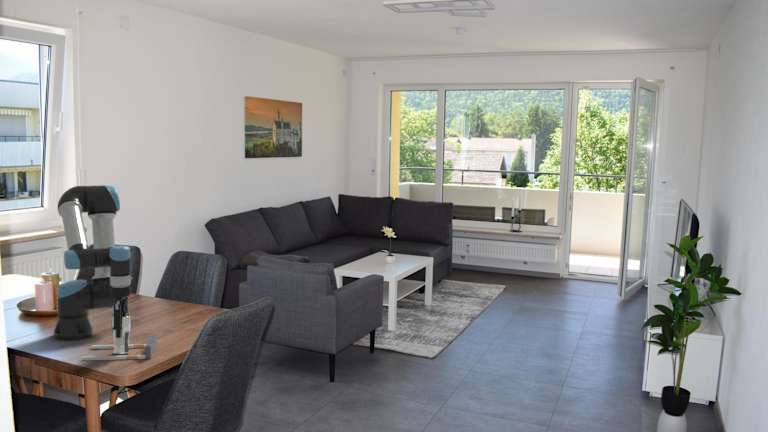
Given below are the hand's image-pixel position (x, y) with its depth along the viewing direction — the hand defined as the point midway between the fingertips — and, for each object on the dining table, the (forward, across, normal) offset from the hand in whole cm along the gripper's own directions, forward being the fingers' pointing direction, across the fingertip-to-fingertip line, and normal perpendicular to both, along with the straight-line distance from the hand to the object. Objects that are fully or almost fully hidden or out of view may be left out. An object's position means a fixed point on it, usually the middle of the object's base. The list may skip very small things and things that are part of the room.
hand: (121, 342), depth 253 cm
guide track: (+5, 0, +1) cm, 5 cm away
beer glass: (+4, 0, 0) cm, 4 cm away
